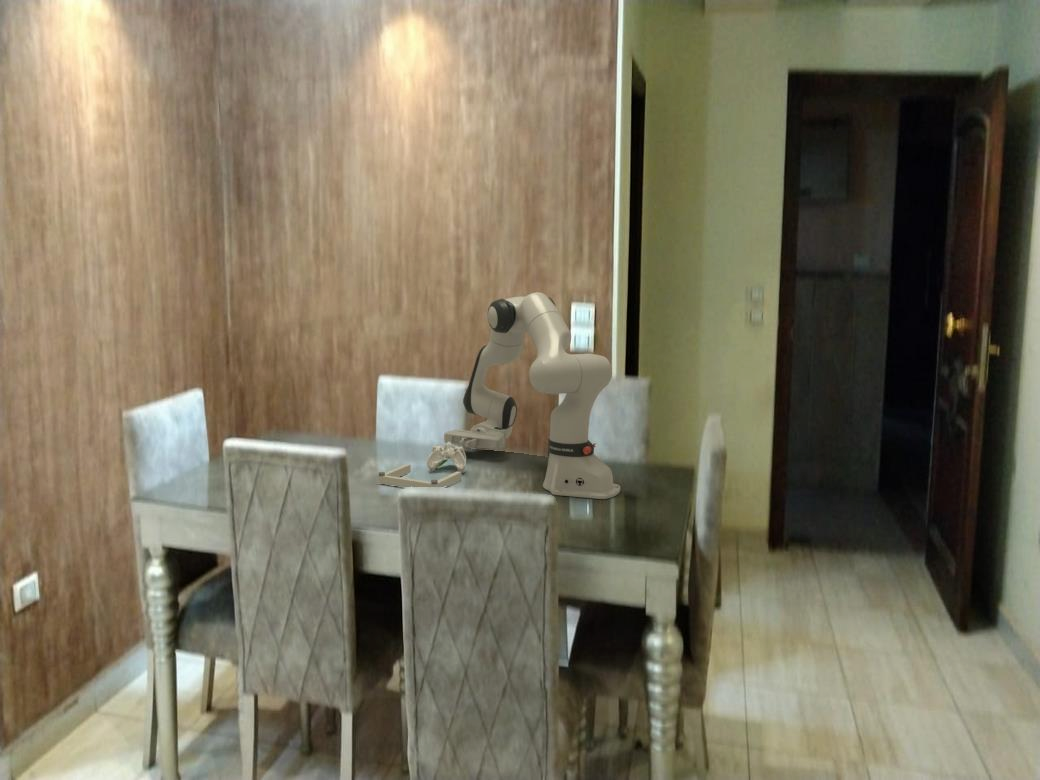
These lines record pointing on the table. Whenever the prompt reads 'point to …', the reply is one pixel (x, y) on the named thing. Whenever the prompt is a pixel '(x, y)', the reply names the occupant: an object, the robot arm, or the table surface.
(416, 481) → the bent beige bar frame
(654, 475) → the table surface
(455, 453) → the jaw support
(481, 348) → the robot arm
